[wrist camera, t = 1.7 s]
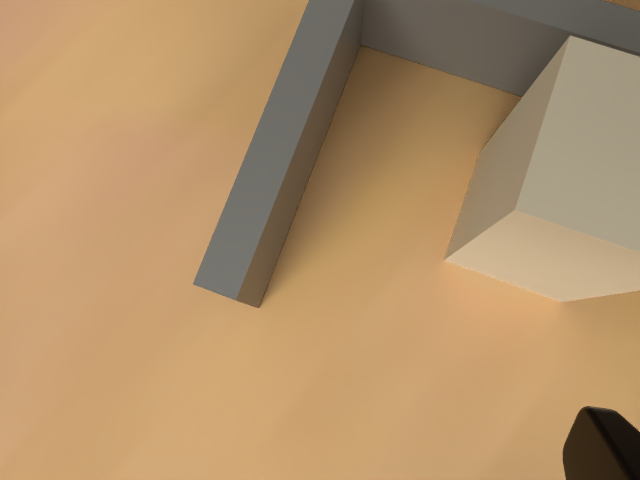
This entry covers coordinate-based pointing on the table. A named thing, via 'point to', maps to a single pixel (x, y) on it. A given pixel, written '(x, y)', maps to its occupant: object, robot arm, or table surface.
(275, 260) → the open-front crate
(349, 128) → the table surface
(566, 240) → the cream block
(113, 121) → the table surface
